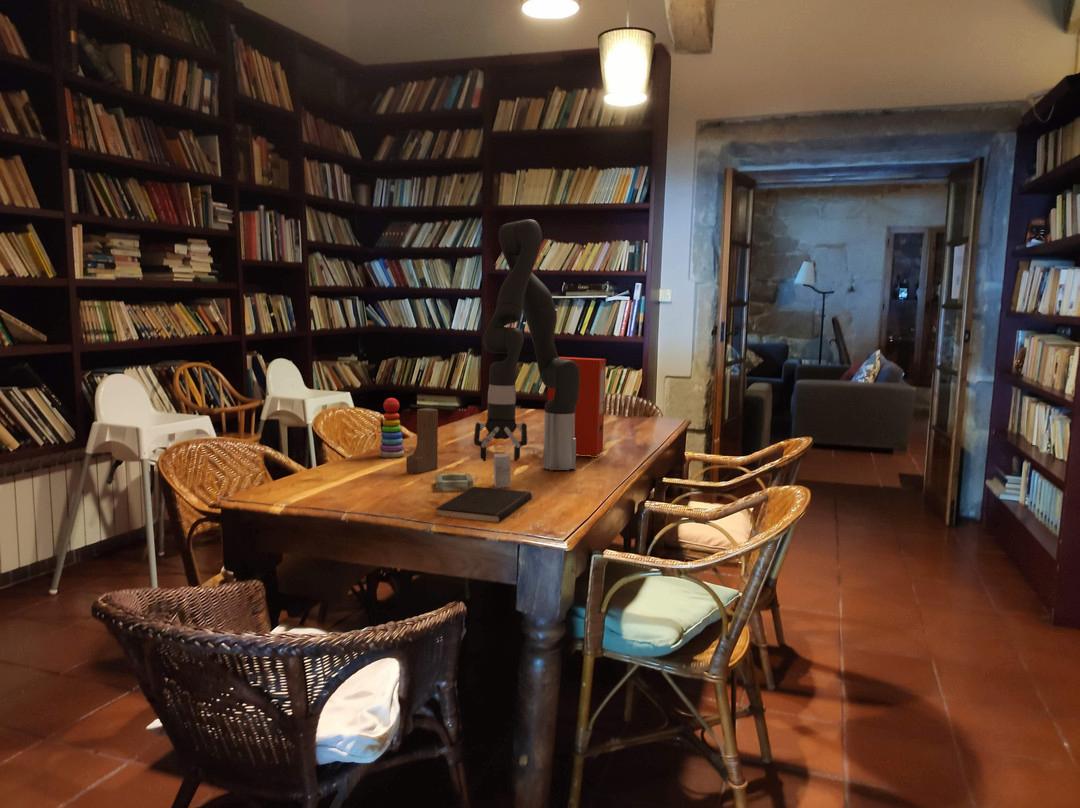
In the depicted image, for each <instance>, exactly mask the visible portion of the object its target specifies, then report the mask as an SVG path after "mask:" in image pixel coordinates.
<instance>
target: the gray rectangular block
mask: <svg viewBox="0 0 1080 808" xmlns="http://www.w3.org/2000/svg"><path fill="white" fill-rule="evenodd" d="M511 458H512V456H511V455H510V454H509V453H494V454H493V486H494V487H495V488H494V489H505V488H504V487H510V488H511V463H512V462H511V460H512V459H511ZM496 487H497V488H496ZM501 487H503V488H501Z"/></svg>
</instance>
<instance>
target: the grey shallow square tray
mask: <svg viewBox="0 0 1080 808" xmlns="http://www.w3.org/2000/svg"><path fill="white" fill-rule="evenodd" d="M435 487H436V488H437V489H436V492H437V491H438V492H456V491H455V490H458V491H457V492H461V491H460V490H463V491H462V492H466V491H465V490H469V489H471V488H473V487H474V480H473V478H472V474H471V473H436V474H435Z"/></svg>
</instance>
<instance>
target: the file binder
mask: <svg viewBox="0 0 1080 808" xmlns="http://www.w3.org/2000/svg"><path fill="white" fill-rule="evenodd" d="M558 357H559V359H567V360H572V361H574V362H575V363H576V364H577V365H578V368H579V372H580V383H579V395H578V402H577V405H576V408H575V434H574V437H575V438H576V454H579V455H591V456H597V455H598V454H600V453H601V452H603V451H604V450H603V449H604V448H603V447H604V423H605V422H604V419H605V393H606V365H607V364H606V363H607V362H606V361H607V359H606V358H591V357H590V358H589V357H571V356H569V357H568V356H567V357H566V356H558ZM554 395H555V389H552V388H549V387H547V402H548V401H550V400H552V399H553V398H554Z"/></svg>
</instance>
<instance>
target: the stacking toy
mask: <svg viewBox="0 0 1080 808" xmlns="http://www.w3.org/2000/svg"><path fill="white" fill-rule="evenodd" d="M383 410H384V411H385V413H384V414H383V418H384V420H383V421H382V425H383V426H382V427H381V430H382V432H381V437H382V438H381V439H380V443H381V444H380V445H379V449H380V451H379V453H378V454H379V456H380V457H382V458H387V459H395V458H396V457H397V458H401V457H403V456H404V455H405V450H404V444H403V443H404V439H403V437H402V436H403V432H402V427H401V421H400V419H399V418H400V414H399V413H398V411H399V410H400V402H399V400H397V399H396V398H395V397H388V398H386V399H385V400H384V402H383ZM397 458H396V459H397Z"/></svg>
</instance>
